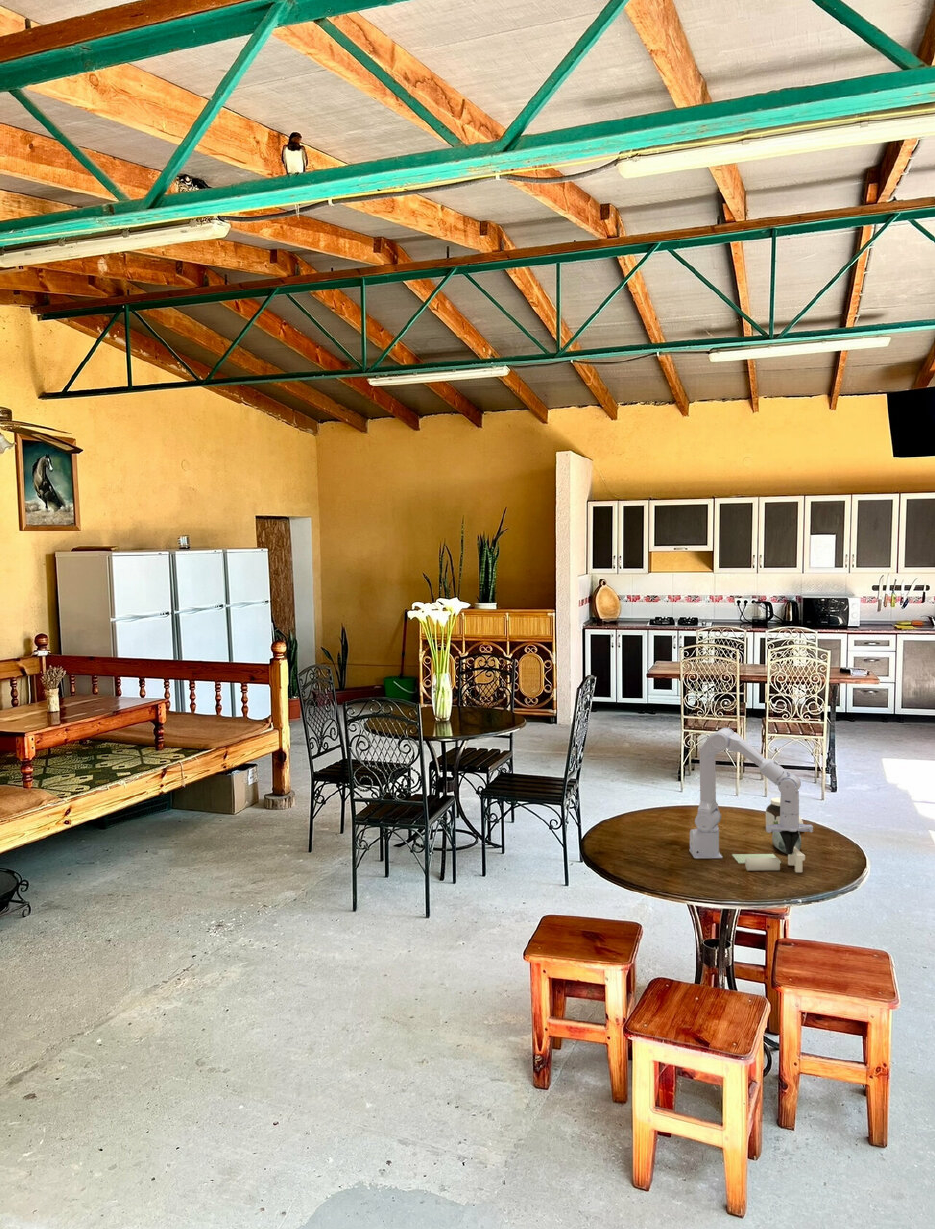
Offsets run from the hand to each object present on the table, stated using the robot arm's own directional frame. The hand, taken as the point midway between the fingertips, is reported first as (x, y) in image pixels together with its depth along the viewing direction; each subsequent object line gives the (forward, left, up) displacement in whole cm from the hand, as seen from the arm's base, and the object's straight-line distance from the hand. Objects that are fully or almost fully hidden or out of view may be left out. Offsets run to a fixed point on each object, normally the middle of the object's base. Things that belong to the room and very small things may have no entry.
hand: (789, 853), depth 282 cm
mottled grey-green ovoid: (+5, +18, -6) cm, 20 cm away
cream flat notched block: (+2, 0, -5) cm, 6 cm away
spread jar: (+12, +39, -6) cm, 41 cm away
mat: (-8, +10, -5) cm, 13 cm away
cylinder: (-9, 0, -5) cm, 10 cm away
